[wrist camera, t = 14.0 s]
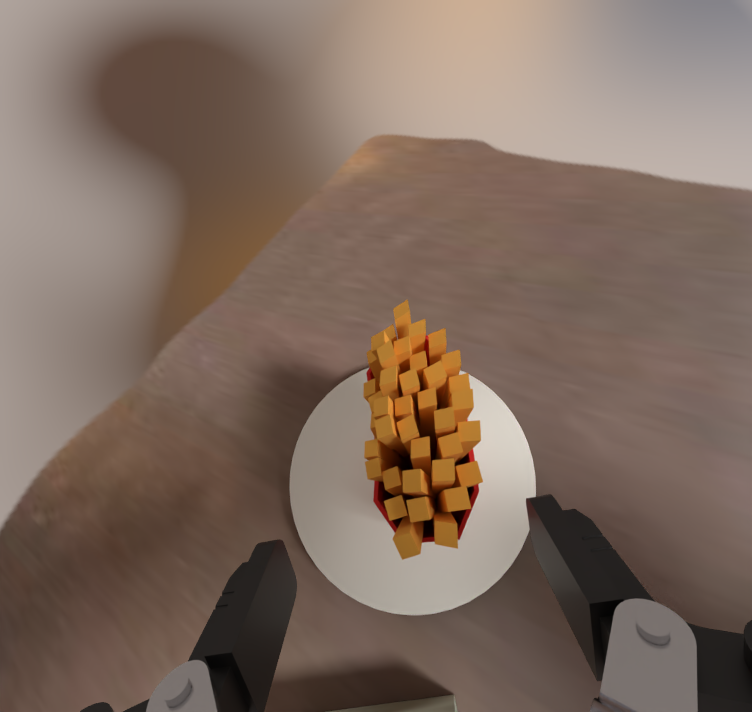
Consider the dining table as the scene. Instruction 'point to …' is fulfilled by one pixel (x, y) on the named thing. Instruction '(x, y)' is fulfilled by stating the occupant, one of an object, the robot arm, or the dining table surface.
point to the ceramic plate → (373, 533)
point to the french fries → (420, 435)
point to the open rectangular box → (411, 706)
